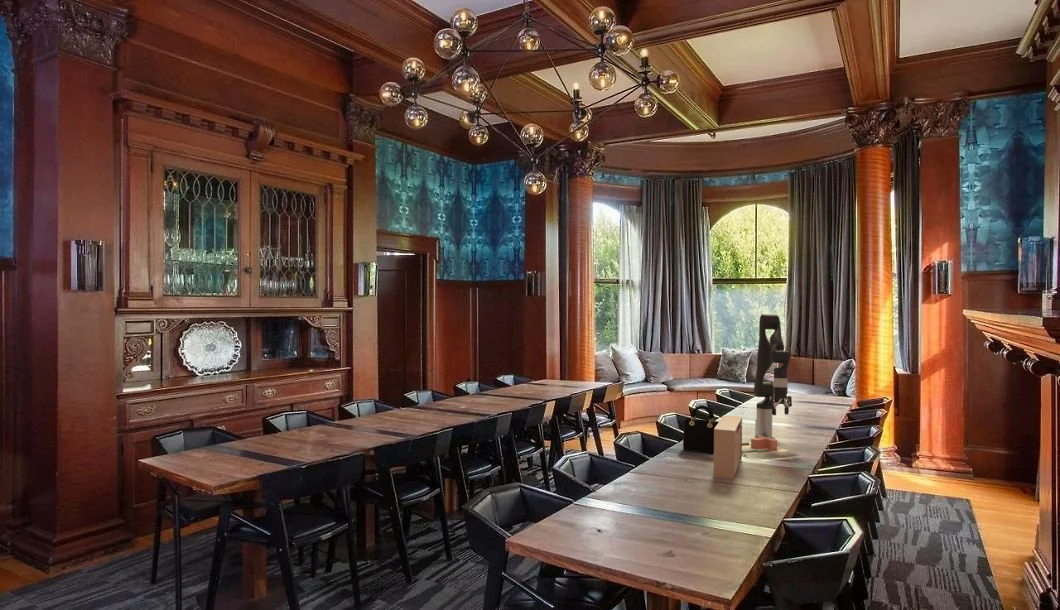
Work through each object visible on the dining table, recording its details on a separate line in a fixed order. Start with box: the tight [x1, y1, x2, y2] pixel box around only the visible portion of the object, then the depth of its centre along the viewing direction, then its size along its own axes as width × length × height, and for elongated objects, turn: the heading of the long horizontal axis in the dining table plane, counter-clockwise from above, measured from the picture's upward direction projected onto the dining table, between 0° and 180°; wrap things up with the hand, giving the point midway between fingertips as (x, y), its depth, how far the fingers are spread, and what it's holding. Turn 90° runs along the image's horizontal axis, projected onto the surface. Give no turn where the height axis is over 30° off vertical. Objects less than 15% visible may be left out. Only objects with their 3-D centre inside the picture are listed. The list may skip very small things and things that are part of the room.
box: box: [713, 414, 743, 480], centre depth 315 cm, size 10×40×22 cm, turn 157°
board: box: [742, 441, 789, 457], centre depth 354 cm, size 24×28×2 cm
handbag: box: [682, 405, 720, 455], centre depth 350 cm, size 21×9×25 cm, turn 58°
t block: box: [750, 436, 778, 450], centre depth 355 cm, size 12×11×5 cm
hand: (780, 414), depth 359 cm, fingers open, 8 cm apart
